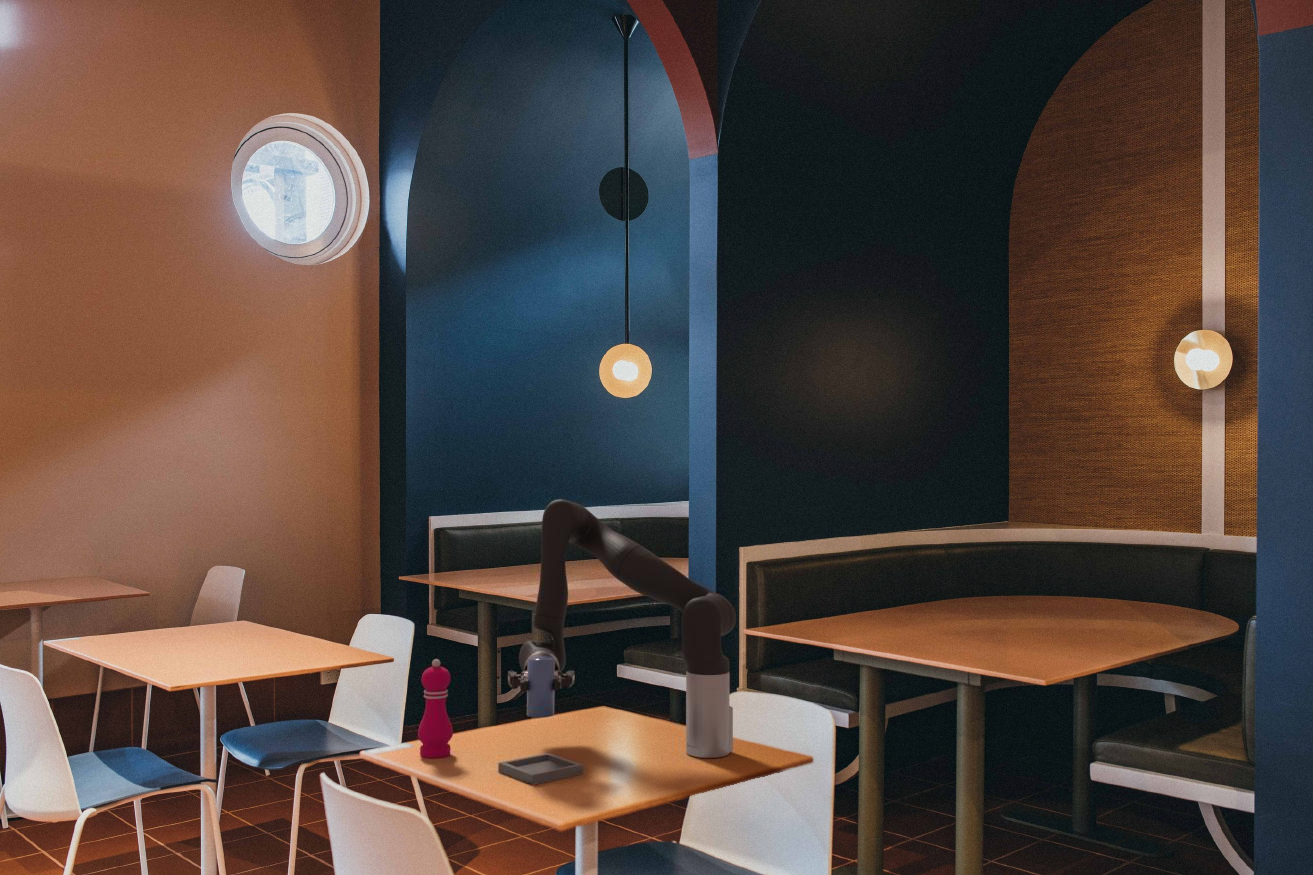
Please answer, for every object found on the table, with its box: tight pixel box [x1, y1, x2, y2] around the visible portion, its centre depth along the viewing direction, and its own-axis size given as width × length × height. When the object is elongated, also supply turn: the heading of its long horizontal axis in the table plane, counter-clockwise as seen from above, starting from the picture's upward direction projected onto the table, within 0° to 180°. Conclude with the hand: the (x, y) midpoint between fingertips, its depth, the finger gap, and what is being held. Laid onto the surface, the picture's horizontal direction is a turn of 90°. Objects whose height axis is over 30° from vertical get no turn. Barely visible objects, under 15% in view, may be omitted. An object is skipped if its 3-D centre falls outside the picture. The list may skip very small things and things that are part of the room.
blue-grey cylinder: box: [526, 656, 555, 719], centre depth 214 cm, size 5×5×11 cm
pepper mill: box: [417, 658, 454, 759], centre depth 228 cm, size 7×7×20 cm
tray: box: [497, 752, 584, 786], centre depth 214 cm, size 12×12×2 cm
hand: (540, 686), depth 212 cm, fingers closed on blue-grey cylinder, 5 cm apart
